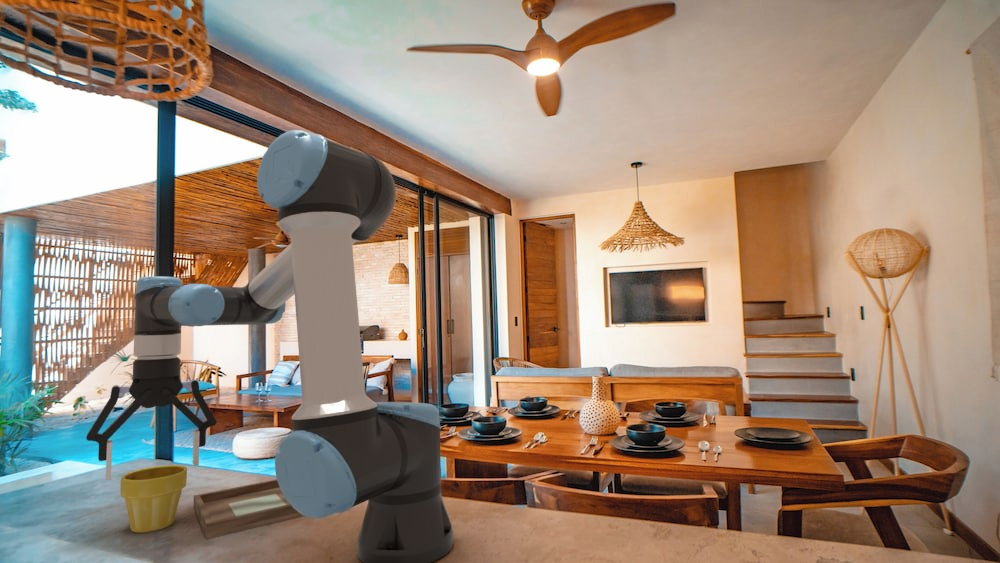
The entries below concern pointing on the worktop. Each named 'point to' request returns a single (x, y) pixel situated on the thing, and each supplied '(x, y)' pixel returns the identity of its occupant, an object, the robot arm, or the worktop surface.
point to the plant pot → (153, 496)
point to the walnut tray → (242, 508)
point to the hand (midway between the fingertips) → (153, 471)
